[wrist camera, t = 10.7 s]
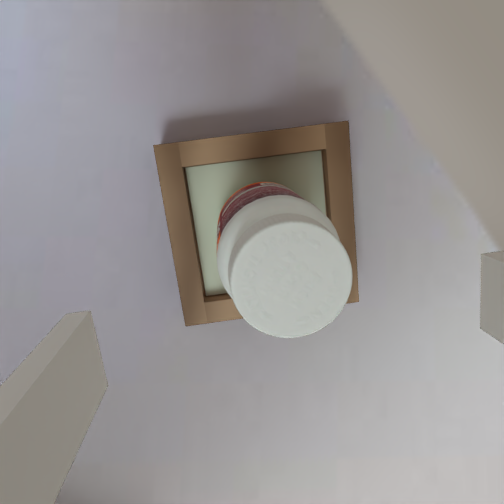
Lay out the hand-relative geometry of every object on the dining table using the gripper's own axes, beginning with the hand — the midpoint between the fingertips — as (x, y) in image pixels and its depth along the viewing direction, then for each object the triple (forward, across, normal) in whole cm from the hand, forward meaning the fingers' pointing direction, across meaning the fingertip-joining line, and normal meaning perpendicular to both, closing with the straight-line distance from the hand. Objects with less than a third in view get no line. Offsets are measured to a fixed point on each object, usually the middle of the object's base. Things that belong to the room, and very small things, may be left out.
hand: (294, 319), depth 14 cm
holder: (+17, 0, 0) cm, 17 cm away
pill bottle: (+15, +1, 0) cm, 15 cm away
